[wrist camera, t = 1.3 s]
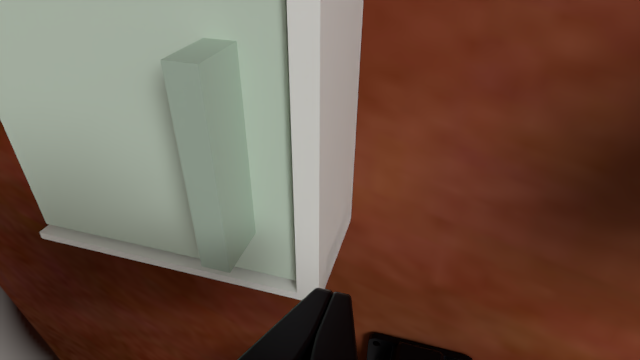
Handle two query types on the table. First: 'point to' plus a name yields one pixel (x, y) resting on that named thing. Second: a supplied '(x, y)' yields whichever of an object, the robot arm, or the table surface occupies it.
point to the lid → (156, 123)
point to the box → (294, 154)
